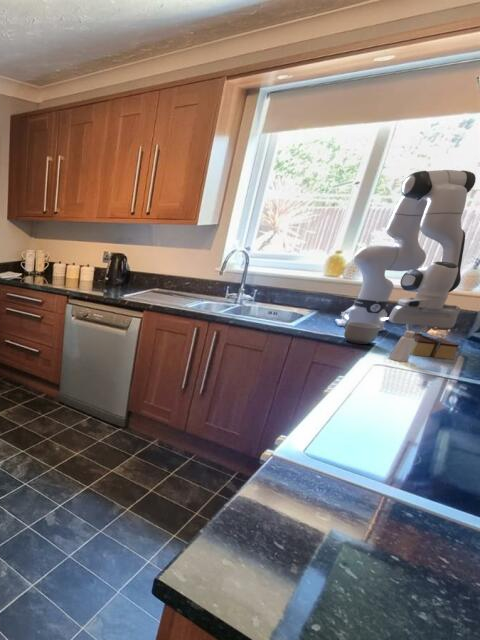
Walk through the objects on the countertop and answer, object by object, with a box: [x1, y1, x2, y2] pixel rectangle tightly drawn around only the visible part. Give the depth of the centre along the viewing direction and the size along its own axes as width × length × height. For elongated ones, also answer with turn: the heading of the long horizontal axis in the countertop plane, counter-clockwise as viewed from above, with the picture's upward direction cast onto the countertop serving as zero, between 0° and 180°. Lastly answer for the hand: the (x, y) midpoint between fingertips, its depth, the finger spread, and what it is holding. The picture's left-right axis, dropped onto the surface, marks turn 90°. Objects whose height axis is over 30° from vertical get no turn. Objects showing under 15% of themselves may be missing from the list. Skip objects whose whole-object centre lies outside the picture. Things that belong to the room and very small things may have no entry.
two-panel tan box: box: [401, 333, 459, 360], centre depth 170 cm, size 12×12×6 cm
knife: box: [411, 329, 442, 350], centre depth 173 cm, size 22×2×4 cm, turn 157°
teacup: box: [343, 321, 380, 345], centre depth 184 cm, size 14×11×8 cm
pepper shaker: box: [388, 330, 415, 363], centre depth 159 cm, size 5×5×11 cm
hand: (414, 335), depth 179 cm, fingers closed on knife, 2 cm apart
